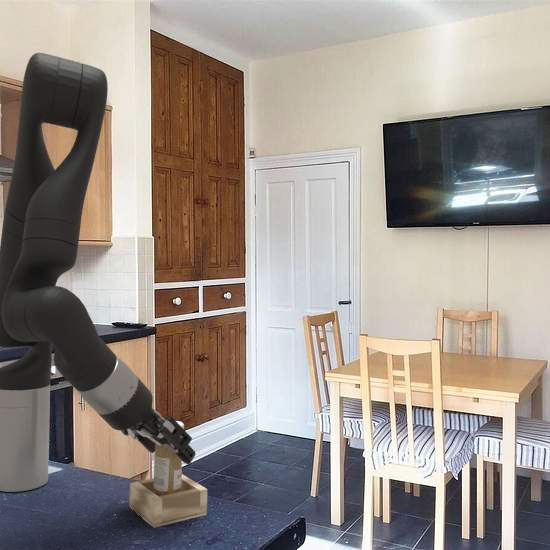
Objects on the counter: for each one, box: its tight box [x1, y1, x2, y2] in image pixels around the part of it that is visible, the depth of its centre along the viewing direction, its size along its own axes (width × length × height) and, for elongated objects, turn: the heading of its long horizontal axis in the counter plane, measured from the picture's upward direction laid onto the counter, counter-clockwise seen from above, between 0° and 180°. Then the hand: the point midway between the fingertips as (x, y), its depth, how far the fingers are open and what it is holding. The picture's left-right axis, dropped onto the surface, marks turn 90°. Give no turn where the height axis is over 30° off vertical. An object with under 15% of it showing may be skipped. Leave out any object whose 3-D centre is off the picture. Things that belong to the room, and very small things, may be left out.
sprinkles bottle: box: [153, 420, 185, 496], centre depth 98 cm, size 5×5×13 cm
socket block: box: [129, 473, 208, 529], centre depth 98 cm, size 9×9×4 cm
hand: (172, 453), depth 98 cm, fingers open, 8 cm apart
